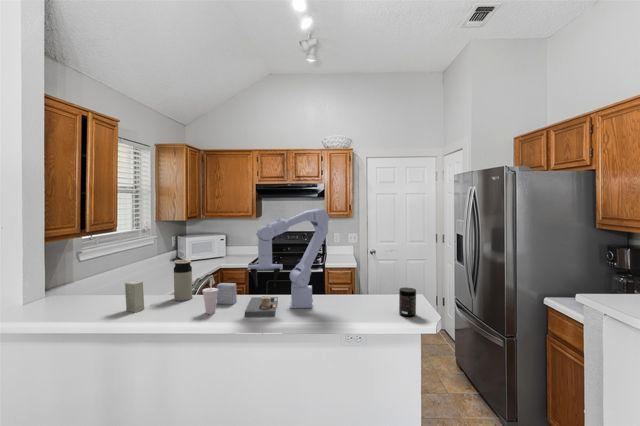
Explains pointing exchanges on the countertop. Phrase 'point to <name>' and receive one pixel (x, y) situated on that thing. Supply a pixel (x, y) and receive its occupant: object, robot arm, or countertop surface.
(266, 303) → the tan rectangular block
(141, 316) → the countertop surface
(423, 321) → the countertop surface
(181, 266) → the travel mug
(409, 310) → the supplement container
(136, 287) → the skincare box
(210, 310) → the smoothie
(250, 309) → the dock
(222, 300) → the medicine box
